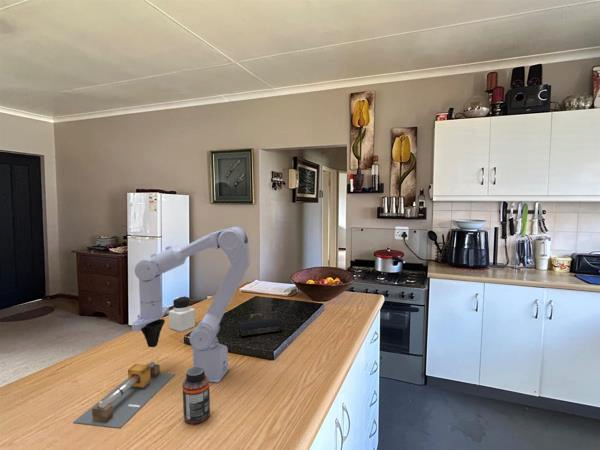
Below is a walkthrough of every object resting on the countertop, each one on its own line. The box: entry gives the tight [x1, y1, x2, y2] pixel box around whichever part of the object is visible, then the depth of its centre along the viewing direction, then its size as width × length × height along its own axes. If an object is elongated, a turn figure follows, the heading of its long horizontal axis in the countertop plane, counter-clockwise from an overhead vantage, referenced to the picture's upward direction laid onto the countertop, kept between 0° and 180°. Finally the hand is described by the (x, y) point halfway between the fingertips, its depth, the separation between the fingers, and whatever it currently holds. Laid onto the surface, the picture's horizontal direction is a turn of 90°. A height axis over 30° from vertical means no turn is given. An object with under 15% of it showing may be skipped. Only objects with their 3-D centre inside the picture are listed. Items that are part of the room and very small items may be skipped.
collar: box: [127, 363, 151, 387], centre depth 90 cm, size 4×3×5 cm
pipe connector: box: [238, 312, 282, 331], centre depth 129 cm, size 12×5×15 cm
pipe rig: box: [72, 361, 176, 429], centre depth 86 cm, size 12×23×4 cm, turn 171°
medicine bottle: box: [168, 295, 196, 333], centre depth 132 cm, size 7×7×12 cm
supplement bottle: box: [182, 366, 211, 425], centre depth 78 cm, size 6×6×11 cm
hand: (152, 346), depth 96 cm, fingers closed
